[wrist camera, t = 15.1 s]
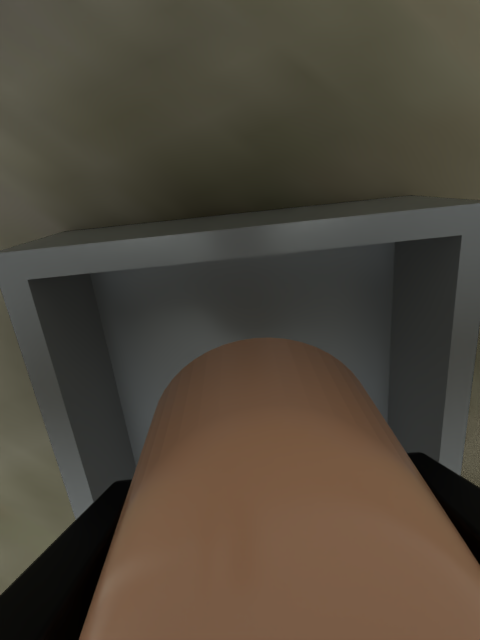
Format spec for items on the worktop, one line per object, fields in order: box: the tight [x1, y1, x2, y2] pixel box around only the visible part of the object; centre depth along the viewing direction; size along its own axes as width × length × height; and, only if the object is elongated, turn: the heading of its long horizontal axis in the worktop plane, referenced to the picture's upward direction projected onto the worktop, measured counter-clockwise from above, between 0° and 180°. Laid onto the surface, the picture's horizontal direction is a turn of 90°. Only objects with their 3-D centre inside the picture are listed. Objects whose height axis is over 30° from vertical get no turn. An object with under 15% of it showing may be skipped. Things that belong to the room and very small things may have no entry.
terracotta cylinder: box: [79, 338, 480, 640], centre depth 5 cm, size 5×5×7 cm
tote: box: [0, 195, 480, 519], centre depth 15 cm, size 18×14×5 cm
